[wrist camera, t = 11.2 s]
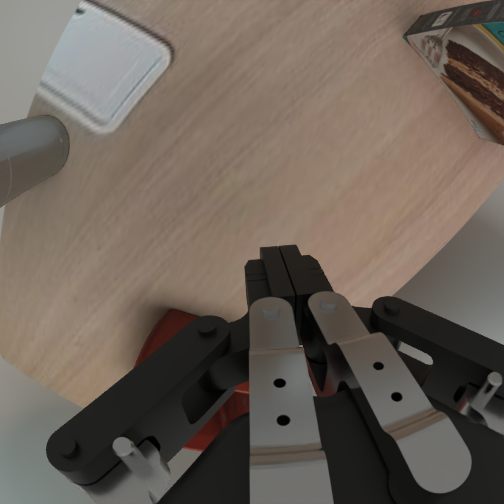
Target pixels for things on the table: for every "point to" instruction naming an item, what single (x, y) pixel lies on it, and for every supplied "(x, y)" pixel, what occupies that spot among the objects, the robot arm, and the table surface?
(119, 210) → the table surface
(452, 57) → the cake mix box
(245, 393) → the plant pot
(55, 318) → the table surface
